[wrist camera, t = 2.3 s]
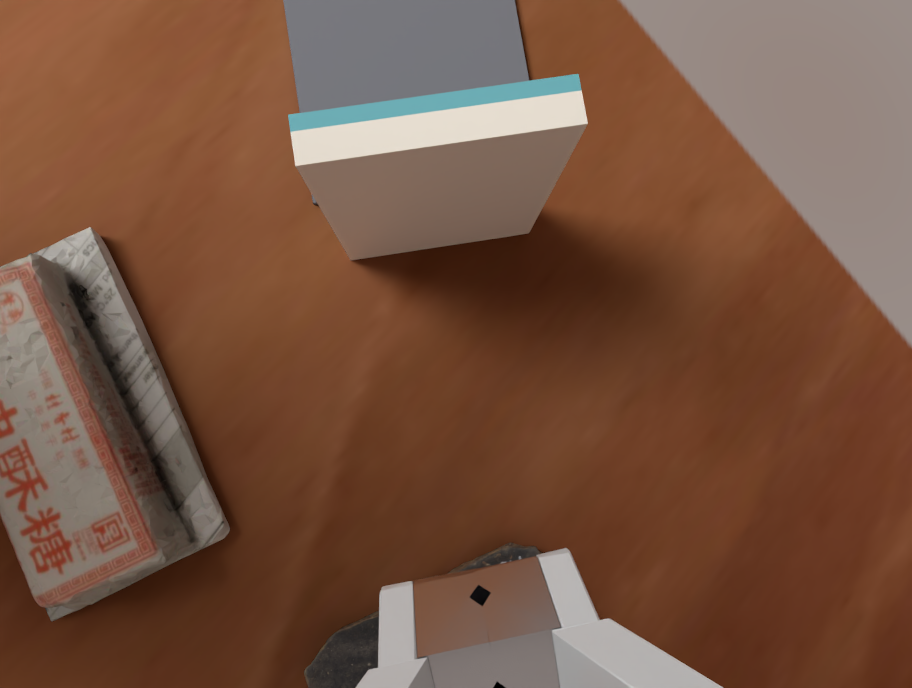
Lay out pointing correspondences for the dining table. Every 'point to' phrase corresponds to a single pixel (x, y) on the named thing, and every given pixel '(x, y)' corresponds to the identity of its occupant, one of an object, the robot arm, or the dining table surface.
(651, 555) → the dining table surface
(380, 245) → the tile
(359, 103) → the mat
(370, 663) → the pottery fragment
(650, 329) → the dining table surface
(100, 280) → the packaged product
